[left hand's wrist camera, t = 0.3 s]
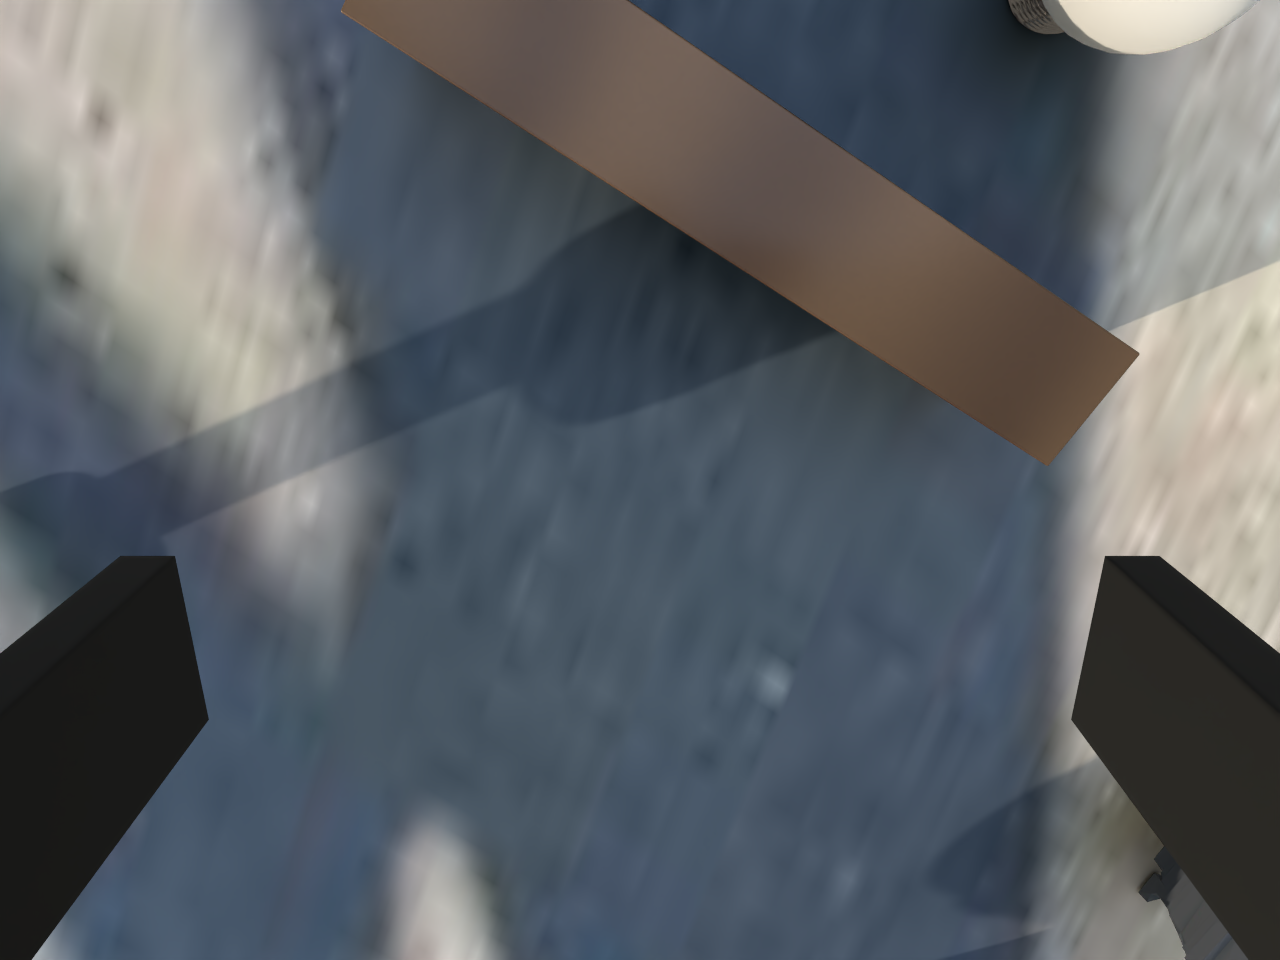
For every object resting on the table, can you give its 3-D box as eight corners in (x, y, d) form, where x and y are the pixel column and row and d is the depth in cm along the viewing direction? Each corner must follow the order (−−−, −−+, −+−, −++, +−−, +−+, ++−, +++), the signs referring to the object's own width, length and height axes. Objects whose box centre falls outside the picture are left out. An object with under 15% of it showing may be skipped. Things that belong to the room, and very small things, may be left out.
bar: (1023, 306, 37) (1140, 353, 29) (956, 394, 38) (1048, 466, 30) (471, -71, 32) (411, -150, 24) (415, 45, 34) (339, 11, 25)
